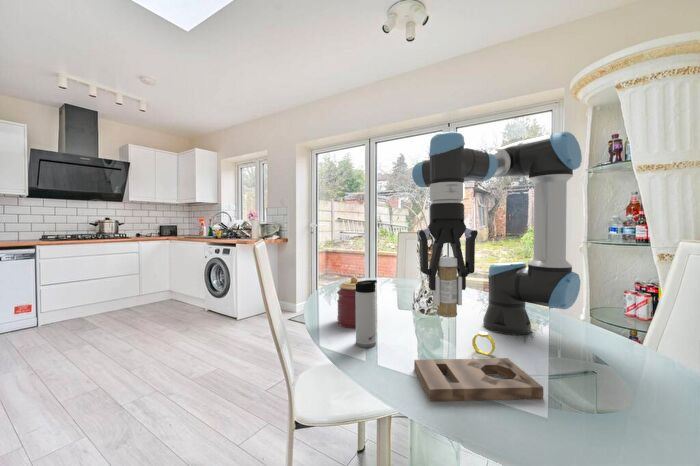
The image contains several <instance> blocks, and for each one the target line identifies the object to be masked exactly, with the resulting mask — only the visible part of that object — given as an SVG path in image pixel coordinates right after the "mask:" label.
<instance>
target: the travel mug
mask: <svg viewBox="0 0 700 466" xmlns="http://www.w3.org/2000/svg"><path fill="white" fill-rule="evenodd" d="M359 281H360V282H357V283H356V291H355V292H356V293H355V300H356V328H355V345H356V346H357V347H359V348H361V349H362V348H363V349H369V348H371V349H372V348H373V347H375V346H376V344H377V313H376V312H377V310H376V309H377V308H376V307H377V305H376V304H377V303H376V302H377V300H376V299H377V296H376V294H377V293H376V284H377V283H378V282H377V279H368V280H359Z"/></svg>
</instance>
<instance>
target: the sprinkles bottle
mask: <svg viewBox="0 0 700 466" xmlns="http://www.w3.org/2000/svg"><path fill="white" fill-rule="evenodd" d="M457 275H458V273H457V258H455V257H454V256H440V260H439V264H438V269H437V273H436V276H438V277H440V306H437V312H436V314H437V315H438V316H439V317H442V318H455V317H457V316H458V310H457V309H458V305H457Z"/></svg>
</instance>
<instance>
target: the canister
mask: <svg viewBox="0 0 700 466" xmlns="http://www.w3.org/2000/svg"><path fill="white" fill-rule="evenodd" d="M360 281H361V280H358V277H357V276H351V278H350V280H346V281H343V282H342V283H341V284H339V288H340V289H338V290H337V291H336V293H337V295H338V299H337V301H336V302H337V323H338V325H339V326H341V327H344V328H348V329H349V328H354V329H356V300H355V293H356V292H355V291H356V283H357V282H360Z"/></svg>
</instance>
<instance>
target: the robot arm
mask: <svg viewBox="0 0 700 466" xmlns="http://www.w3.org/2000/svg"><path fill="white" fill-rule="evenodd" d="M465 144H466V141H465V136H464V135H463V134H462V133H461V132H458V131H447V132H441V133H438V134H436V135H435V134H434V136H432V137H431V139H430V143H429V153H428V156H429V159H426V160H425V159H424V160H422V161H420V162H417V163H416V164H415V165H414V166H413V168H412V172H411V175H412V179H413V180H412V181H413V183H414V184H415V185H416V186H417V187H419V188H429V202H431V204H430V205H429V224H428V226H427V228H424V229H423V230H418V231H417V232H416V235H417V237H418V240H419V257H420V258H419V263H420V265H419V266H420V267H419V268H420V269H419V270H420V272H421V273H422V274H424V275H427V276H428V288H429V290H430V291H432V304H434V305H435V306H437V307H438V306H440V277H438V276H437V269H438V264H439V260H440V257H441V255H442V250H443V248H444V245H445V244H447V243H448V244H450V247H451V250H452V255H453V257H455V258H457V306H463V291H466V288H467V285H466V284H467V283H466V282H467V277H468V276H469V274H474V272H475V270H476V268H475V263H476V262H475V256H476V255H475V254H476V239H477V238H478V237H477V235H478V234H479V232H478V230H476V229H471V228H468V227H467V226H466V223H465V204H464V202H463V201H464V200H465V183H466V182H471V181H472V182H473V181H474V182H487V181H489V180H490V179H492V178H501V177H505V178H506V177H525V176H528V181H530V182H531V183H532V184H533V258H532V259H531V260H530V261H529V262H528V264H526V262H519V261H517V262H503V263H502V262H501V263H494V264H490V266H489V269H488V276H487V277H488V305H487V308H486V310H485V313H484V317H483V322H482V323H483V325H482V326H483V327H484V328H486V329H487V330H489V331H493V332H496V333H499V334H506V335H517V336H518V335H527V334H530V333H531V332H532V324H531V320H530V317H529V314H528V311H527V308H526V304H533V305H538V306H543V307H547V308H550V309H559V310H569V308H571V307H573V305H574V304H575V303H576V301H577V299H578V297H579V294H580V289H581V279H580V275H579V274H578V273H577V272H575V271H573V265H572V264H571V263H570V262H569V261H568V260H567V191H568V190H567V189H568V188H567V186H568V185H567V183H568V182H569V180H571V178H573V177H574V173H573V172H574V170H578V169H579V168H580V167H581V163H582V160H583V158H582V150H581V146H580V143H579V141H578V139H577V137H576V136H575V135H574V134H573V133H571V132H570V131H562V132H556V133H555V132H554V133H553V132H552V133H550V134H546V135H541V136H538V137H535V138H534V137H533V138H529V139H525V140H519V141H517V142H513V143H510V144H508V145H505V146H502V147H499V148H497V147H496V148H493V149H491V150H489V151H487V150H486V149H479V148H478V149H477V148H473V147H468V146H466V145H465ZM429 234H430V235H431V236H432V238H433V239H434V240H433V241H434V242H433V248H432V252H431V257H430V261H429V242H428V239H429V237H430V236H429ZM463 235H464V237H465V243H464V246H465V249H464V252H465V253H464V255H463V252H462V243H461V238H462V236H463Z"/></svg>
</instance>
